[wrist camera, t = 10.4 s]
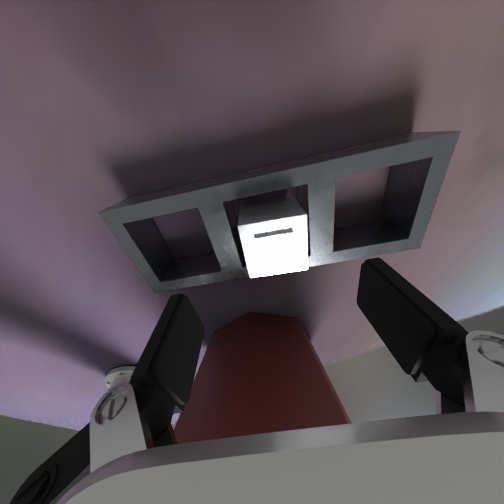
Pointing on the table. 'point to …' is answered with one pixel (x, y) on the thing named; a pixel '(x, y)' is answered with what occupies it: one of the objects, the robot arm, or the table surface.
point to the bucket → (259, 383)
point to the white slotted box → (273, 233)
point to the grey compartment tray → (309, 197)
